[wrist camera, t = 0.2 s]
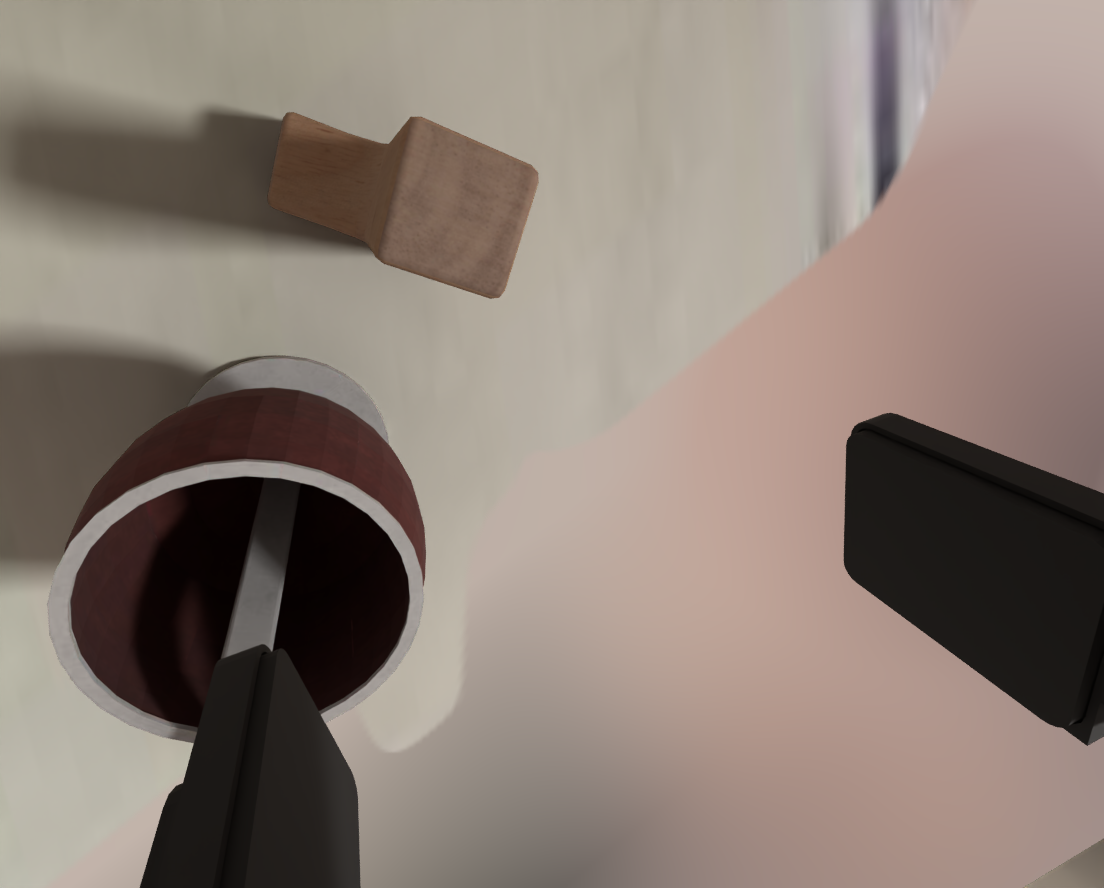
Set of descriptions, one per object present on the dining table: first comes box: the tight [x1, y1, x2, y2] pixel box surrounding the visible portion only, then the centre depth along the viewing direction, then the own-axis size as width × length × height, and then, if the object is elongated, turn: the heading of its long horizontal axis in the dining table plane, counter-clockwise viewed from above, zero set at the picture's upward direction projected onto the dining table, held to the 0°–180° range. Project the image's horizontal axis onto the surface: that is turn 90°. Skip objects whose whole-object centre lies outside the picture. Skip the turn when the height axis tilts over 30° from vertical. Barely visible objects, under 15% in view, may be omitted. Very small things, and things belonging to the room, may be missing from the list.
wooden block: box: [267, 112, 538, 299], centre depth 26 cm, size 9×4×18 cm, turn 70°
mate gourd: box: [47, 356, 426, 743], centre depth 29 cm, size 16×14×20 cm
